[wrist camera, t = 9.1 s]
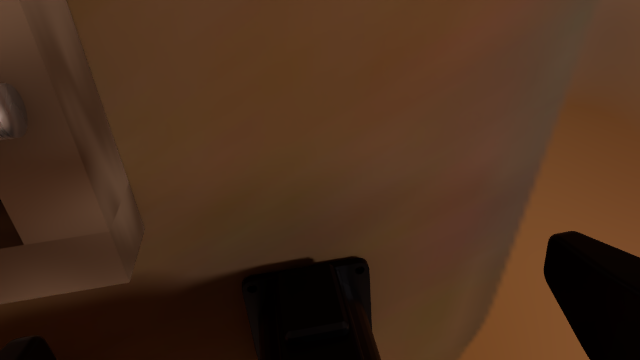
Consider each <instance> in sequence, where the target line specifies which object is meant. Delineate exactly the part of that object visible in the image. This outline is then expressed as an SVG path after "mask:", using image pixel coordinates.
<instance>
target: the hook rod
mask: <svg viewBox="0 0 640 360" xmlns="http://www.w3.org/2000/svg"><path fill="white" fill-rule="evenodd" d="M27 125H28V118H27V112H26V108H25V105H24V102H23V100H22V98H21V96H20V94H19V93H18V91H17V90H16V89H15V88H14V87H13V86H12V85H10V84H8V83H0V140H6V139H14V138H20V137H22V136H24V134H25V133H26V130H27Z"/></svg>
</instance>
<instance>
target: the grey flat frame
mask: <svg viewBox="0 0 640 360" xmlns="http://www.w3.org/2000/svg"><path fill="white" fill-rule="evenodd" d="M0 83H8V84H10V85H12V86H13V87H14V88H15V89H16V90H17V91H18V93H19V94H20V96H21V98H22V100H23V102H24V105H25V108H26V112H27V118H28V125H27V130H26V133H25V134H24V136H22V137H20V138H14V139H6V140H0V199H1V201H2V202H0V304H5V303H11V302H17V301H23V300H29V299H35V298H41V297H46V296H52V295H58V294H64V293H70V292H76V291H82V290H88V289H94V288H100V287H106V286H112V285H118V284H124V283H130V279H131V276H132V272H133V269H134V265H135V262H136V258H137V255H138V251H139V248H140V244H141V241H142V237H143V234H144V230H145V228H144V225H143V222H142V219H141V216H140V214H139V211H138V208H137V205H136V202H135V199H134V196H133V193H132V190H131V187H130V184H129V182H128V179H127V176H126V173H125V170H124V167H123V164H122V161H121V158H120V155H119V152H118V150H117V147H116V144H115V141H114V138H113V135H112V132H111V129H110V126H109V123H108V120H107V117H106V115H105V112H104V109H103V106H102V103H101V100H100V97H99V94H98V91H97V88H96V85H95V83H94V80H93V77H92V74H91V71H90V68H89V65H88V62H87V59H86V56H85V53H84V50H83V48H82V45H81V42H80V39H79V36H78V33H77V30H76V27H75V24H74V21H73V18H72V16H71V13H70V10H69V7H68V4H67V1H66V0H0Z"/></svg>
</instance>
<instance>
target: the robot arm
mask: <svg viewBox="0 0 640 360" xmlns="http://www.w3.org/2000/svg"><path fill="white" fill-rule="evenodd" d="M357 267H361V268H360V269H356V268H357ZM544 276H545V279H546V282H547V284H548V285H549V287H550V289H551V291H552V293H553V295H554V297H555V298H556V300H557V302H558V304H559V306H560V307H561V309H562V311H563V313H564V315H565V316H566V318H567V320H568V322H569V324H570V325H571V328H572V329H573V331H574V333H575V335H576V337H577V338H578V340H579V342H580V344H581V346H582V347H583V349H584V351H585V352H586V354H587V356H588V357H589V359H590V360H640V258H639V257H637V256H634V255H632V254H630V253H627V252H625V251H622V250H620V249H618V248H615V247H612V246H610V245H608V244H605V243H603V242H600V241H598V240H596V239H593V238H591V237H588V236H586V235H583V234H581V233H578V232H575V231H568V232H563V233H558V234H554V235H552V236H551V237H550V239H549V241H548V246H547V252H546V258H545V264H544ZM251 285H254V286H255V287H249V286H251ZM242 292H243V296H244V301H245V305H246V309H247V314H248V318H249V322H250V327H251V331H252V335H253V339H254V344H255V348H256V352H257V357H258V360H381V358H380V355H379V352H378V349H377V346H376V342H375V339H374V336H373V333H372V321H371V298H370V275H369V267H368V264H367V261H366V260H365V259H363V258H354V259H349V260H343V261H337V262H331V263H325V264H319V265H313V266H308V267H302V268H296V269H290V270H284V271H278V272H272V273H267V274H261V275H255V276H250V277H247V278H245V279H244V280H243V282H242ZM0 360H57V359H56V358H55V356H54V354H53V353H52V351H51V349H50V348H49V346H48V344H47V343H46V341H45V340H44V338H43V337H41V336H39V335H33V336H28V337H23V338H18V339H15V340H12V341H11V342H9V343H8V344H7V345H6V346H5V347H4V348H2V349H1V350H0Z"/></svg>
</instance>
